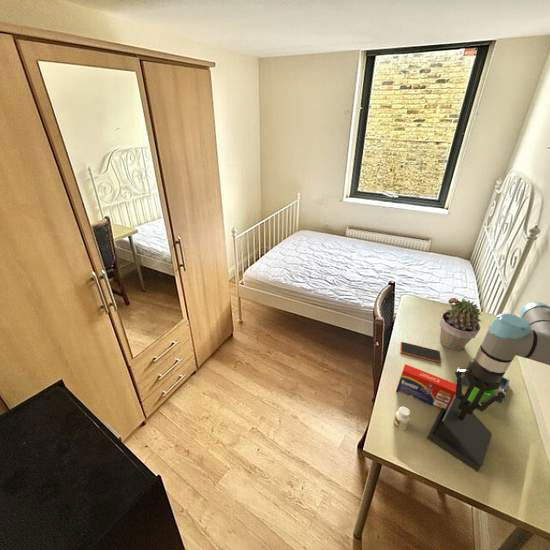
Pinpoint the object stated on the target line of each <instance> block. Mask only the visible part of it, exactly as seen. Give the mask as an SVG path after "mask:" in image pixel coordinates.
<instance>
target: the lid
mask: <svg viewBox="0 0 550 550" xmlns="http://www.w3.org/2000/svg"><path fill="white" fill-rule="evenodd" d="M460 402H461V400H460V399H457V398H456V394H455V395H454V397H453V399H452V401H451V403H450V405H449V407H448V409H447V411H446V413H445V415H444V418H443V420H442V422H443V423H444V424H445V426H446V427H447V428H448V429H449V430H450V432H451V433H452V434H453V435H454V436H455V437H456V439H457V440H458V441H459V442H460V443H461V445H462V446H463V447H464V448H465V449H466V451H467V452H468V453H469V454H470V455H471V457H472V458H473V459H474V460H475V461H476V463H477V464H478V465H479V466H481V467H483V464H484V462H485V459H486V455H487V452H488V449H489V446H490V442H491V438H492V436H493V433H492V432H491V431H490V430H489V429H488V428H487V427H486V425H485V424H484V423H483V422H482V421H481V419H479V417H478V416H477V415H476V414H475V412H473V413H472V414H471V415H470V414H468V413H467V414H466V416H465V418H464V419H463V421H462V420H460V419H458V416H459V413H460V411H461V409H459V408H458V406H459V404H460Z"/></svg>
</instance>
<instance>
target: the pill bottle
mask: <svg viewBox="0 0 550 550" xmlns="http://www.w3.org/2000/svg"><path fill="white" fill-rule="evenodd" d="M410 415H411V410H410V409H409V408H407V407H406V406H400V407H399V408H398V410H397V411H396V413H395V414H394V417H393V425H394V426H395V428H397V429H398V430H402V431H404V430H406V429H407V428H408V425H409V422H410V420H411V419H410V418H411V416H410Z"/></svg>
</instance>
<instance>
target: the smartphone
mask: <svg viewBox="0 0 550 550" xmlns="http://www.w3.org/2000/svg"><path fill="white" fill-rule="evenodd" d="M400 354H405V355H409V356H412V357H416V358H420V359H424V360H428V361H432V362H436V363H439V364H440V363H442V356H441V351H440V350H438V349H434V348H429V347H424V346H421V345H416V344H413V343H410V342H409V343H408V342H404V341H401V342H400Z"/></svg>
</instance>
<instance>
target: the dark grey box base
mask: <svg viewBox="0 0 550 550" xmlns="http://www.w3.org/2000/svg"><path fill="white" fill-rule="evenodd" d="M446 411H447V410H446V409H445V408H443V407H442V409H440V410H439V413H438V415H437V416H436V419H435V421H434V422H433V425H432V426H431V428H430V431H429V433H428V435H427V437H426V439H427V440H429V441H430V442H431V443H433V444H434V445H436V446H438V447H439V448H441V449H442V450H443V451H444V452H446V453H448V454H449V455H451V456H452V457H454V458H455V459H457V460H459V461H460V462H462V463H463V464H464V465H466V466H468V467H469V468H470V469H472V470H473V471H475V472H476V473H477V472H479V470H480V469H481V468H482V466H479V465H478V464H477V463H476V461H475V460H474V459H473V458H472V457H471V455H470V454H469V453H468V452H467V451H466V449H465V448H464V447H463V446H462V445H461V443H460V442H459V441H458V440H457V439H456V437H455V436H454V435H453V434H452V433H451V432H450V430H449V429H448V428H447V427H446V426H445V424H444V423H443V422H442V420H443V418H444V415H445V413H446Z"/></svg>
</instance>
